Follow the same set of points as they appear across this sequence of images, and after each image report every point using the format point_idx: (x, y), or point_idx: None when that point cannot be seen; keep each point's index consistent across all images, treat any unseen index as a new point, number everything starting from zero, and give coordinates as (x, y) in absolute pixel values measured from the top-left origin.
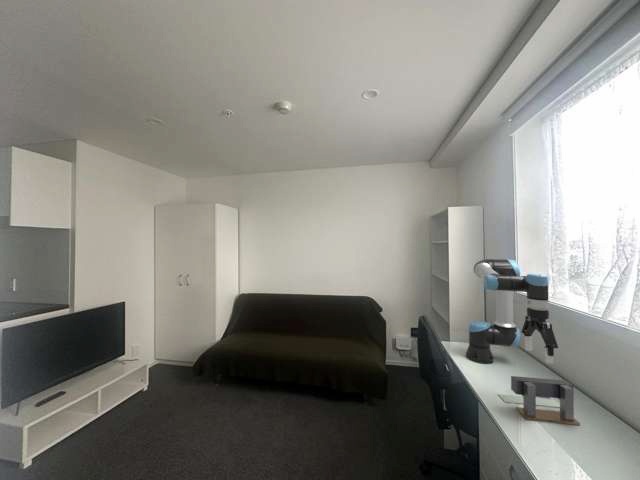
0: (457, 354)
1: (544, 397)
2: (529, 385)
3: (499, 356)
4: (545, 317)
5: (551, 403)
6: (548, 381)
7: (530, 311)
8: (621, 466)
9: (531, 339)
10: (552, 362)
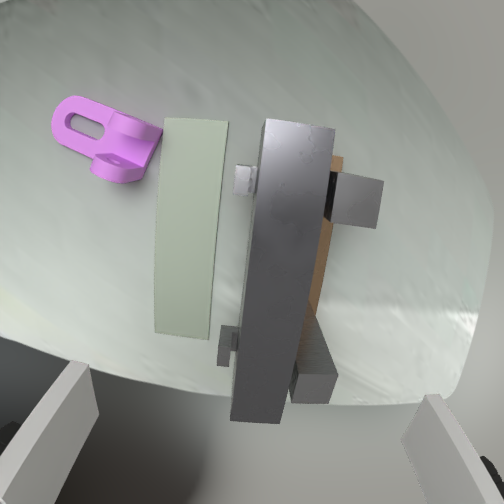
0: None
1: (154, 148)
2: (330, 397)
3: None
4: None
5: (200, 152)
6: (288, 265)
7: None
8: (479, 211)
9: (22, 476)
10: (439, 407)
